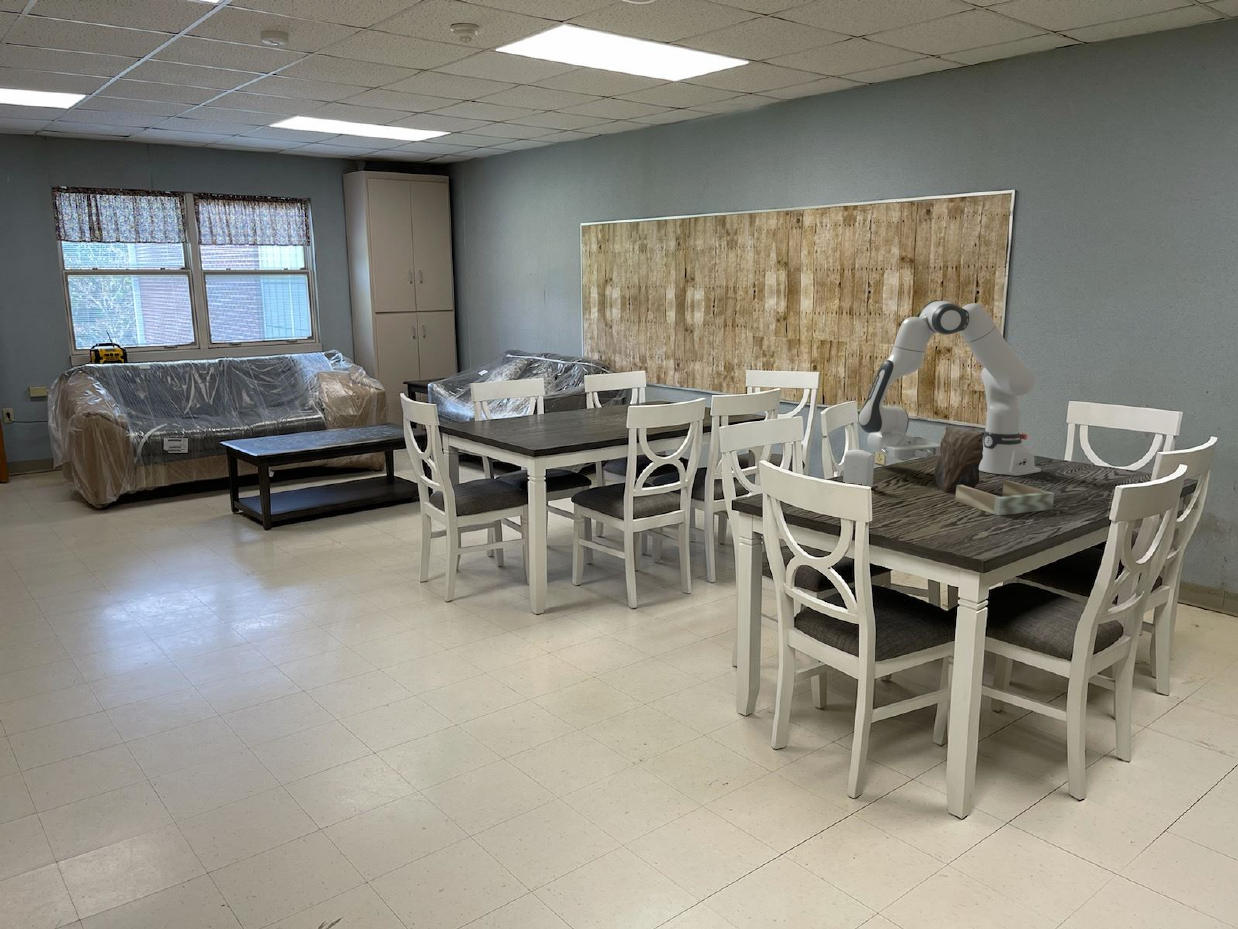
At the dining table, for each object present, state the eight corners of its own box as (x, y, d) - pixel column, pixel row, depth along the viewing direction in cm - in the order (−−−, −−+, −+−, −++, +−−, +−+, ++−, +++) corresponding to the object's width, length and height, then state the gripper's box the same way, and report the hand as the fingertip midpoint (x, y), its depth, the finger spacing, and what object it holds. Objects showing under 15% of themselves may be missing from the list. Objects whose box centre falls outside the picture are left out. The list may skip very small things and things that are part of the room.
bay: (1006, 495, 287) (1008, 480, 286) (1052, 509, 270) (1054, 493, 269) (955, 500, 279) (956, 485, 278) (998, 515, 263) (1000, 498, 262)
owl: (932, 483, 302) (937, 425, 298) (970, 484, 301) (976, 426, 297) (943, 492, 290) (948, 431, 285) (983, 493, 289) (989, 432, 285)
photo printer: (840, 484, 299) (843, 448, 296) (848, 482, 301) (851, 446, 299) (866, 490, 291) (869, 453, 288) (874, 488, 294) (877, 451, 291)
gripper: (879, 440, 312) (905, 447, 299) (926, 437, 319) (953, 444, 307) (877, 458, 313) (904, 466, 301) (924, 454, 321) (952, 462, 308)
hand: (929, 455), depth 304 cm, fingers closed
